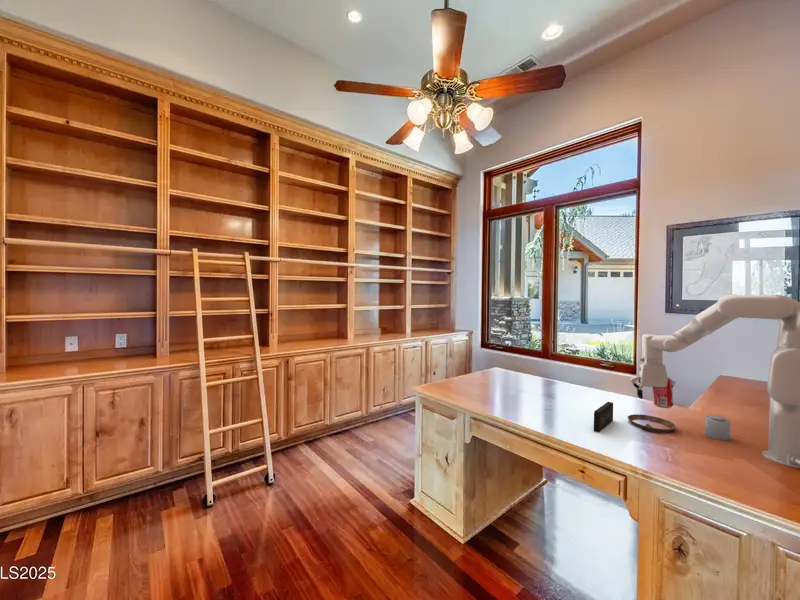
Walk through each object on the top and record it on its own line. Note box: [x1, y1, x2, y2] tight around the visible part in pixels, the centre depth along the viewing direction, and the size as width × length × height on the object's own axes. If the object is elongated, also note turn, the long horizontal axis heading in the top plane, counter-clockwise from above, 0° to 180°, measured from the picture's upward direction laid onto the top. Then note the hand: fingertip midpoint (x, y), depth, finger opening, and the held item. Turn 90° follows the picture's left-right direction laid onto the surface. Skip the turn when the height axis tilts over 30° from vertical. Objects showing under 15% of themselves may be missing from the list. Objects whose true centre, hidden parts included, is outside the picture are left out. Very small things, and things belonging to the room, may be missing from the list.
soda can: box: [652, 376, 674, 409], centre depth 157 cm, size 7×7×13 cm
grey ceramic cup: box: [704, 414, 732, 442], centre depth 146 cm, size 8×8×9 cm
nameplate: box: [593, 401, 614, 433], centre depth 156 cm, size 21×2×10 cm, turn 134°
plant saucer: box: [627, 414, 677, 434], centre depth 158 cm, size 18×18×3 cm
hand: (652, 398), depth 157 cm, fingers open, 9 cm apart
